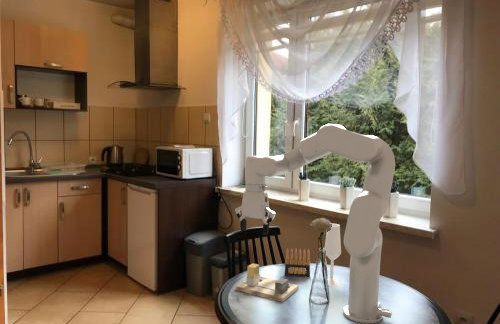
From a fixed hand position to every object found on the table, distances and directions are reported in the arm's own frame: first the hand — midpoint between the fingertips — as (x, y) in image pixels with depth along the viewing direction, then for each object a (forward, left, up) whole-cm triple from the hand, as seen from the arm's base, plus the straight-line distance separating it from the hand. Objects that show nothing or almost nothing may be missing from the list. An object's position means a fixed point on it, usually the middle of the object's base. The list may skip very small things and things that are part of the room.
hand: (254, 232), depth 151 cm
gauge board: (-5, -2, -22) cm, 23 cm away
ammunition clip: (-9, -22, -22) cm, 33 cm away
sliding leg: (0, -2, -20) cm, 20 cm away
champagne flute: (-24, -22, -22) cm, 39 cm away
